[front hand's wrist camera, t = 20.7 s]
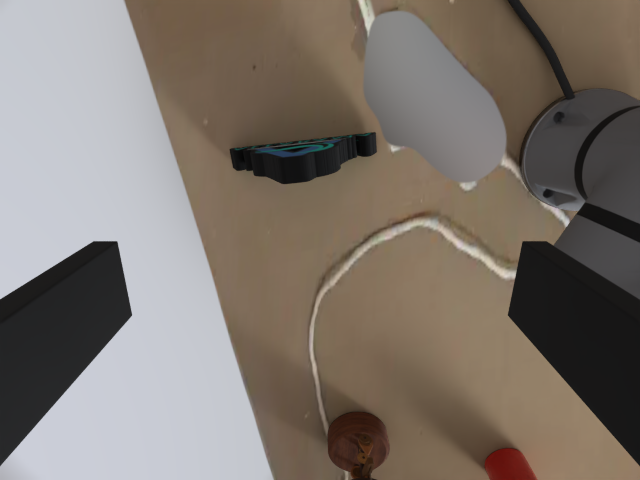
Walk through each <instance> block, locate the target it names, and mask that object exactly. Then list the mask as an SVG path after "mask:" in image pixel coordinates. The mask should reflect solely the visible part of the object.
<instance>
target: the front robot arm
mask: <svg viewBox="0 0 640 480" xmlns="http://www.w3.org/2000/svg"><path fill="white" fill-rule="evenodd" d="M508 1H509V3H510V4H511V6H512V7H513V9H514V10H515V12H516V13H517V14H518V16H519V17H520V19H521V20H522V21H523V22H524V24H525V25H526V26H527V28H528V29H529V30H530V32H531V33H532V34H533V36H534V37H535V38H536V40H537V41H538V43H539V44H540V46H541V47H542V49H543V51H544V52H545V54H546V56H547V58H548V60H549V62H550V64H551V66H552V68H553V71H554V73H555V75H556V78H557V80H558V82H559V84H560V86H561V88H562V91H563V93H564V95H565V96H563V97H561V98H559V99H558V100H556V101H555V102H553V103H552V104H550V105H549V106H548V107H547V108H546V109H545V110H543V111H542V112H541V114H540V115H539V116H538V117H537V118H536V119H535V121H534V122H533V123H532V125H531V126H530V128H529V130H528V132H527V134H526V136H525V138H524V141H523V144H522V148H521V153H520V171H521V175H522V178H523V181H524V183H525V185H526V187H527V188H528V190H529V191H530V192H531V193H532V195H534V196H535V197H536V198H537V199H539V200H540V201H542V202H544V203H546V204H548V205H550V206H553V207H556V208H559V209H565V210H573V211H578V210H579V211H578V213H577V214H576V215H575V216H574V218H573V219H572V220H571V222H570V223H569V225H568V226H567V227H566V229H565V230H564V232H563V233H562V234H561V236H560V237H559V239H558V240H557V241H556V243H555V244H554V246H553V245H551V244H550V243H548V242H547V241H523V243H522V248H521V253H520V258H519V262H518V267H517V272H516V277H515V282H514V287H513V292H512V297H511V302H510V307H509V312H508V316H509V317H510V318H511V319H512V321H513V322H514V323H515V324H516V325H517V326H518V327H519V329H520V330H521V331H522V332H523V333H524V334H525V335H526V337H527V338H528V339H529V340H530V341H531V342H532V343H533V345H534V346H535V347H536V348H537V349H538V350H539V351H540V353H541V354H542V355H543V356H544V357H545V358H546V359H547V361H548V362H549V363H550V364H551V365H552V366H553V367H554V369H555V370H556V371H557V372H558V373H559V374H560V375H561V377H562V378H563V379H564V380H565V381H566V382H567V383H568V385H569V386H570V387H571V388H572V389H573V390H574V391H575V393H576V394H577V395H578V396H579V397H580V398H581V399H582V401H583V402H584V403H585V404H586V405H587V406H588V407H589V409H590V410H591V411H592V412H593V413H594V414H595V415H596V417H597V418H598V419H599V420H600V421H601V422H602V423H603V425H604V426H605V427H606V428H607V429H608V430H609V431H610V432H611V434H612V435H613V436H614V437H615V438H616V439H617V440H618V442H619V443H620V444H621V445H622V446H623V447H624V448H625V450H626V451H627V452H628V453H629V454H630V455H631V456H632V458H633V459H634V460H635V461H636V462H637V463H638V464H639V466H640V101H639V100H637V99H635V98H633V97H631V96H629V95H627V94H625V93H623V92H620V91H615V90H610V89H585V90H580V91H576V92H573V91H572V88H571V86H570V84H569V82H568V80H567V78H566V75H565V73H564V71H563V69H562V66H561V64H560V62H559V60H558V57H557V55H556V53H555V51H554V50H553V48H552V46H551V44H550V43H549V41H548V40H547V38H546V36H545V35H544V34H543V32H542V31H541V29H540V28H539V27H538V25H537V24H536V23H535V21H534V20H533V19H532V17H531V16H530V15H529V13H528V12H527V11H526V9H525V8H524V7H523V5H522V4H521V2H520V1H519V0H508ZM131 316H132V312H131V307H130V303H129V297H128V292H127V288H126V282H125V277H124V273H123V267H122V263H121V258H120V253H119V248H118V243H117V241H94V242H92V243H90V244H89V245H87V246H85V247H84V248H82V249H81V250H79V251H77V252H76V253H74V254H73V255H71V256H69V257H68V258H66V259H64V260H63V261H61V262H60V263H58V264H56V265H55V266H53V267H52V268H50V269H48V270H47V271H45V272H44V273H42V274H40V275H39V276H37V277H36V278H34V279H32V280H31V281H29V282H27V283H26V284H24V285H23V286H21V287H20V288H18V289H16V290H15V291H13V292H11V293H10V294H8V295H7V296H5V297H3V298H2V299H0V466H1V464H2V463H3V462H4V461H5V460H6V459H7V458H8V456H9V455H10V454H11V453H12V452H13V451H14V450H15V448H16V447H17V446H18V445H19V444H20V443H21V442H22V440H23V439H24V438H25V437H26V436H27V435H28V434H29V432H30V431H31V430H32V429H33V428H34V427H35V426H36V424H37V423H38V422H39V421H40V420H41V419H42V418H43V416H44V415H45V414H46V413H47V412H48V411H49V410H50V408H51V407H52V406H53V405H54V404H55V403H56V402H57V401H58V399H59V398H60V397H61V396H62V395H63V394H64V392H65V391H66V390H67V389H68V388H69V387H70V386H71V384H72V383H73V382H74V381H75V380H76V379H77V378H78V377H79V375H80V374H81V373H82V372H83V371H84V370H85V369H86V367H87V366H88V365H89V364H90V363H91V362H92V361H93V359H94V358H95V357H96V356H97V355H98V354H99V353H100V351H101V350H102V349H103V348H104V347H105V346H106V345H107V343H108V342H109V341H110V340H111V339H112V338H113V337H114V335H115V334H116V333H117V332H118V331H119V330H120V329H121V327H122V326H123V325H124V324H125V323H126V322H127V321H128V319H129V318H130V317H131Z"/></svg>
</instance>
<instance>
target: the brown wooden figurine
mask: <svg viewBox="0 0 640 480" xmlns="http://www.w3.org/2000/svg"><path fill="white" fill-rule="evenodd" d="M389 450H390V447H389V441H388V437H387V432H386V428H385V426H384V424H383V422H382V421H381V420H380V419H378V418H377V417H375V416H373V415H371V414H368V413H363V412H353V413H348V414H345V415H343V416H341V417H339V418H337V419H336V420H335V421H334V422H333V423H332V424H331V426H330V428H329V430H328V454H329V457H330V459H331V460H332V462H333V463H334V464H335V465H336V466H338V467H339V468H341V469H343V470H346V471H349V472H351V476H352V478H353V479H352V480H376V479H373V478H371V473H372V470H373V469H375V468H377V467H378V466H380V465H381V464H382V463H383V462H384V461H385V460H386V458H387V457H388V454H389Z"/></svg>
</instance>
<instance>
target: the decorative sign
mask: <svg viewBox="0 0 640 480" xmlns="http://www.w3.org/2000/svg"><path fill="white" fill-rule="evenodd" d="M376 152H377V150H376V133H375V132H374V133H365V134H355V135H347V136H339V137H329V138H322V139H311V140H302V141H293V142H287V143H276V144H267V145H258V146H249V147H243V148H232V149H230V154H231V159H232V164H233V168H234V169H236V170H237V171H241V170H245V169H246V170H247V171H252V170H253V173H254V175H255V176H262V177H268V178H271V179H273V180H275V181H277V182H279V183H281V184H290V183H300V182H307V181H310V180H312V179H314V178H316V177H320V176H325V175H329V174H332V173H335V172H337V171H338V170H339V169H340V168H341V166H340V165H341V164H342V163H344V162H346V161H348V160H350V159H353V158H356V157H357V155H358V156H362V157H367V156H371V155H373V154H375V153H376Z"/></svg>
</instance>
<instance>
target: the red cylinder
mask: <svg viewBox="0 0 640 480" xmlns="http://www.w3.org/2000/svg"><path fill="white" fill-rule="evenodd" d="M485 469H486V472H487V474H488V476H489V478H490V480H538V479H537V478H536V476H535V474H534V473H533V471H532V469H531V467H530V466H529V464H528V462H527V460H526V459H525V457H524V455H523V454H522V453H521V452H520V451H518V450H516V449H511V448H505V449H500V450H497V451H495V452H493V453H492V454H491V455H489V456H488V458H487V459H486V461H485Z"/></svg>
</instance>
